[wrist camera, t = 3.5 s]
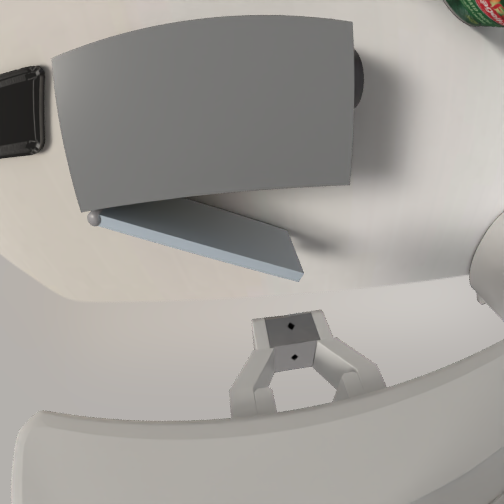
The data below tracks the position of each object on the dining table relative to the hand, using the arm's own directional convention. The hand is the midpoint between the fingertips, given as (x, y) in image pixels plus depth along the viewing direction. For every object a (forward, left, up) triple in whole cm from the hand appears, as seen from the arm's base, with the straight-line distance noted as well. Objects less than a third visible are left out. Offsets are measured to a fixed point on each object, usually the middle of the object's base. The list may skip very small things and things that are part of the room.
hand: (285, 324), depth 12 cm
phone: (+24, -12, -14) cm, 30 cm away
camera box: (+3, -8, -14) cm, 16 cm away
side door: (+4, +1, -13) cm, 14 cm away
